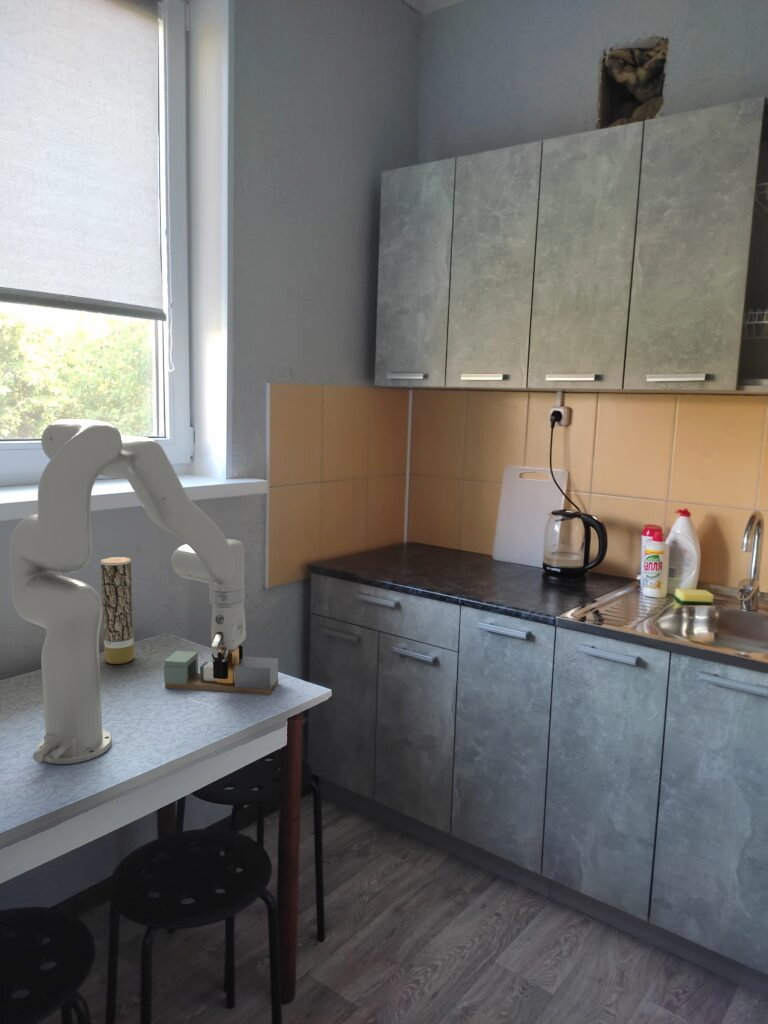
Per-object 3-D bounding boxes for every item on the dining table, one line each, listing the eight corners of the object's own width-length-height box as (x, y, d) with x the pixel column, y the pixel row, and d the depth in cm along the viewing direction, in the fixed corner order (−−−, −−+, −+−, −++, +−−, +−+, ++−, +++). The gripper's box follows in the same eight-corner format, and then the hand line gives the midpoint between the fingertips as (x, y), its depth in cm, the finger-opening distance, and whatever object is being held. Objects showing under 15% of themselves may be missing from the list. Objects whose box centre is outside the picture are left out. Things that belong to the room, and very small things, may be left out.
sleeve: (270, 689, 159) (270, 668, 159) (234, 687, 160) (234, 666, 160) (278, 678, 166) (278, 658, 165) (243, 676, 167) (243, 656, 166)
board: (270, 695, 159) (270, 689, 159) (165, 687, 163) (164, 682, 162) (278, 683, 166) (278, 678, 166) (177, 676, 169) (177, 671, 169)
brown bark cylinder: (115, 667, 174) (111, 564, 170) (99, 660, 178) (94, 560, 174) (140, 659, 180) (136, 559, 176) (124, 653, 184) (120, 555, 180)
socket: (186, 684, 161) (185, 662, 161) (164, 682, 162) (163, 661, 161) (198, 672, 168) (197, 651, 168) (177, 671, 169) (176, 650, 168)
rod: (266, 686, 160) (265, 655, 159) (199, 681, 162) (198, 651, 161) (271, 678, 165) (271, 648, 164) (206, 674, 167) (205, 644, 166)
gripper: (230, 607, 152) (231, 686, 155) (255, 586, 169) (256, 657, 171) (195, 605, 153) (197, 683, 156) (224, 585, 170) (225, 655, 172)
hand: (228, 670), depth 163 cm, fingers open, 9 cm apart
